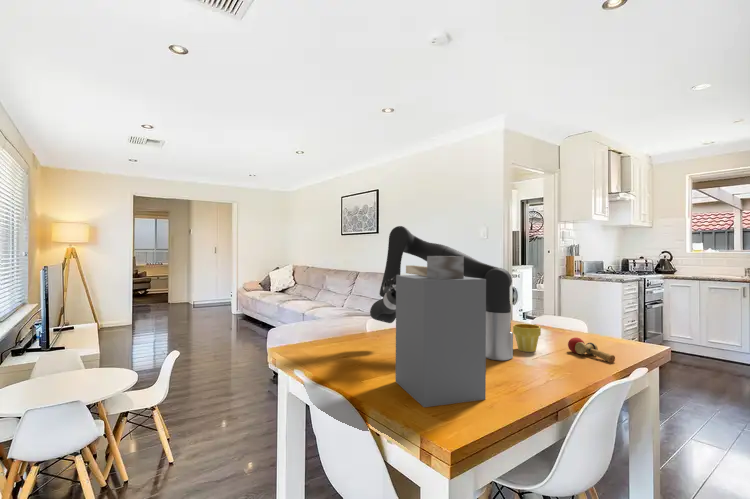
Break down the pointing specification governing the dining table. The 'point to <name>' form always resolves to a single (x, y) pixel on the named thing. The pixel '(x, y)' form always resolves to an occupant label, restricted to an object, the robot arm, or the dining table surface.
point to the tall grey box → (441, 339)
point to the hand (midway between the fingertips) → (410, 276)
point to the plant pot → (527, 336)
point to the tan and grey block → (440, 267)
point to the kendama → (588, 349)
